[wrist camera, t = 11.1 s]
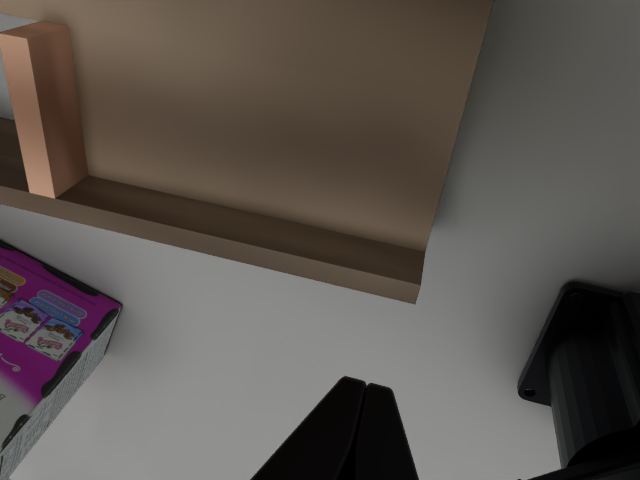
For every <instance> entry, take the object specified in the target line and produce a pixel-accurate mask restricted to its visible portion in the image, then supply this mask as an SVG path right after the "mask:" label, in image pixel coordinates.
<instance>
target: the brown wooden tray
mask: <svg viewBox="0 0 640 480" xmlns="http://www.w3.org/2000/svg"><path fill="white" fill-rule="evenodd" d="M493 2H494V0H0V13H1V14H6V15H11V16H17V17H22V18H27V19H33V20H38V21H40V22H36V23H32V24H29V25H25V26H21V27H18V28H14V29H10V30H6V31H3V32H0V49H1V54H2V59H3V64H4V69H5V74H6V79H7V84H8V89H9V94H10V98H11V103H12V108H13V113H14V118H15V121H11V120H7V119H2V118H0V204H3V205H7V206H11V207H15V208H19V209H23V210H27V211H32V212H36V213H40V214H44V215H48V216H52V217H56V218H61V219H65V220H69V221H73V222H77V223H81V224H85V225H89V226H94V227H98V228H102V229H106V230H110V231H114V232H118V233H122V234H127V235H131V236H135V237H139V238H143V239H147V240H151V241H156V242H160V243H164V244H168V245H172V246H176V247H180V248H184V249H189V250H193V251H197V252H201V253H205V254H209V255H213V256H218V257H222V258H226V259H230V260H234V261H238V262H242V263H246V264H251V265H255V266H259V267H263V268H267V269H271V270H275V271H279V272H284V273H288V274H292V275H296V276H300V277H304V278H308V279H313V280H317V281H321V282H325V283H329V284H333V285H337V286H341V287H346V288H350V289H354V290H358V291H362V292H366V293H370V294H374V295H379V296H383V297H387V298H391V299H395V300H399V301H403V302H408V303H412V304H416V300H417V297H418V293H419V290H420V286H421V279H422V272H423V265H424V257H425V251H426V247H427V244H428V240H429V236H430V233H431V229H432V225H433V222H434V218H435V214H436V211H437V207H438V203H439V200H440V196H441V192H442V189H443V185H444V181H445V178H446V174H447V170H448V167H449V163H450V159H451V156H452V152H453V148H454V145H455V141H456V137H457V134H458V130H459V126H460V123H461V119H462V115H463V112H464V108H465V104H466V101H467V97H468V93H469V90H470V86H471V82H472V79H473V75H474V71H475V68H476V64H477V60H478V57H479V53H480V49H481V46H482V42H483V38H484V35H485V31H486V27H487V24H488V20H489V16H490V13H491V9H492V5H493Z"/></svg>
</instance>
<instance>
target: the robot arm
mask: <svg viewBox="0 0 640 480" xmlns="http://www.w3.org/2000/svg"><path fill="white" fill-rule="evenodd" d="M573 293H579V294H580V295H579V296H578V297H570V295H571V294H573ZM517 388H518V394H519V396H520V397H521V398H522V399H525V400H528V401H531V402H535V403H539V404H543V405H547V406H551V407H552V413H553V419H554V425H555V432H556V438H557V444H558V451H559V457H560V463H561V469H560V470H556V471H553V472H550V473H547V474H544V475H541V476H537V477H534V478H531V479H528V480H640V294H638V293H634V292H626V293H623V292H619V291H615V290H610V289H606V288H601V287H597V286H593V285H588V284H584V283H579V282H572V283H568V284H566V285H565V286H564V287H563V288H562V289H561V291H560V293H559V296H558V298H557V300H556V302H555V304H554V306H553V308H552V311H551V313H550V315H549V317H548V319H547V321H546V324H545V326H544V328H543V330H542V332H541V334H540V337H539V339H538V341H537V343H536V345H535V347H534V349H533V352H532V354H531V356H530V358H529V360H528V362H527V365H526V367H525V369H524V371H523V373H522V375H521V378H520V380H519V382H518V385H517ZM526 389H533V390H526ZM364 395H365V396H364ZM250 480H419V478H418V475H417V471H416V468H415V465H414V461H413V458H412V454H411V451H410V447H409V444H408V441H407V437H406V434H405V430H404V427H403V424H402V420H401V417H400V413H399V410H398V407H397V403H396V400H395V396H394V393H393V391H392V389H391V388H389V387H385V386H381V385H378V384H374V383H369V384H368V385H367V387H366V382H365V381H363V380H359V379H355V378H351V377H348V376H344V377H342V378H341V379H340V380H339V381H338V382H337V383H336V384H335V385H334V387H333V388H332V389H331V390H330V391H329V392H328V393H327V394H326V395H325V397H324V398H323V399H322V400H321V401H320V402H319V403H318V404H317V406H316V407H315V408H314V409H313V410H312V411H311V412H310V413H309V415H308V416H307V417H306V418H305V419H304V420H303V421H302V422H301V423H300V425H299V426H298V427H297V428H296V429H295V430H294V431H293V432H292V434H291V435H290V436H289V437H288V438H287V439H286V440H285V441H284V443H283V444H282V445H281V446H280V447H279V448H278V449H277V450H276V451H275V453H274V454H273V455H272V456H271V457H270V458H269V459H268V460H267V462H266V463H265V464H264V465H263V466H262V467H261V468H260V469H259V470H258V472H257V473H256V474H255V475H254V476H253V477H252V478H251V479H250ZM518 480H521V479H518Z"/></svg>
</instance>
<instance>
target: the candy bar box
mask: <svg viewBox="0 0 640 480" xmlns="http://www.w3.org/2000/svg"><path fill="white" fill-rule="evenodd" d="M120 309H121V305H120V304H118V303H117V302H116V301H114V300H112V299H110V298H108V297H106V296H104V295H102V294H100V293H99V292H97V291H95V290H93V289H91V288H89V287H87V286H85V285H83V284H81V283H79V282H77V281H75V280H73V279H71V278H69V277H67V276H65V275H63V274H62V273H60V272H58V271H56V270H54V269H52V268H50V267H48V266H46V265H44V264H42V263H40V262H38V261H36V260H34V259H32V258H30V257H28V256H26V255H24V254H23V253H21V252H19V251H17V250H15V249H13V248H11V247H9V246H7V245H5V244H3V243H1V242H0V480H7V479H8V478H9V476H10V475H11V474H12V472H13V471H14V470H15V469H16V467H17V466H18V465H19V464H20V462H21V461H22V460H23V459H24V457H25V456H26V455H27V454H28V452H29V451H30V450H31V448H32V447H33V446H34V444H35V443H36V442H37V441H38V439H39V438H40V437H41V436H42V434H43V433H44V432H45V431H46V429H47V428H48V427H49V426H50V424H51V423H52V422H53V421H54V419H55V418H56V417H57V416H58V414H59V413H60V412H61V410H62V409H63V408H64V406H65V405H66V404H67V403H68V402H69V401H70V399H71V398H72V397H73V395H74V394H75V393H76V392H77V390H78V389H79V388H80V386H81V385H82V384H83V383H84V381H85V380H86V379H87V378H88V376H89V375H90V374H91V373H92V371H93V370H94V369H95V367H96V366H97V365H98V363H99V362H100V361H101V359H102V358H103V356H104V355H105V352H106V349H107V347H108V344H109V340H110V335H111V333H112V330H113V328H114V325H115V322H116V320H117V317H118V314H119V312H120Z"/></svg>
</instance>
